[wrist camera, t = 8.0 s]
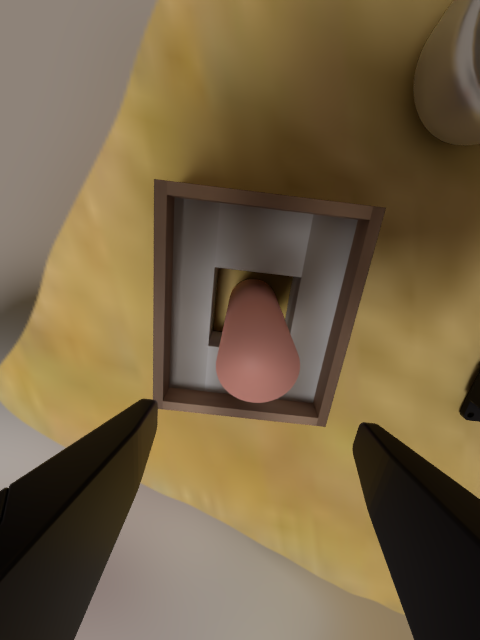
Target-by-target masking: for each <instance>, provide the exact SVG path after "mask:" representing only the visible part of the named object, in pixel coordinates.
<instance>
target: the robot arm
mask: <svg viewBox="0 0 480 640" xmlns="http://www.w3.org/2000/svg"><path fill="white" fill-rule="evenodd" d="M157 415H158V404H157V401H156V400H151V399H141V400H139V401H138V402H136V403H135V404H133V405H131V406H130V407H128V408H127V409H125V410H124V411H122V412H121V413H119V414H118V415H116V416H115V417H113V418H112V419H110V420H108V421H107V422H105V423H104V424H102V425H101V426H99V427H98V428H96V429H95V430H93V431H92V432H90V433H88V434H87V435H85V436H84V437H82V438H81V439H79V440H78V441H76V442H75V443H73V444H72V445H70V446H69V447H67V448H65V449H64V450H62V451H61V452H59V453H58V454H56V455H55V456H53V457H52V458H50V459H49V460H47V461H46V462H44V463H42V464H41V465H39V466H38V467H36V468H35V469H33V470H32V471H30V472H29V473H27V474H26V475H24V476H22V477H21V478H19V479H18V480H16V481H15V482H13V483H12V484H10V486H9V488H4V489H2V490H1V491H0V640H74V638H75V636H76V634H77V632H78V629H79V627H80V625H81V622H82V620H83V618H84V615H85V613H86V610H87V608H88V605H89V604H90V601H91V599H92V596H93V594H94V592H95V590H96V587H97V585H98V583H99V580H100V578H101V576H102V573H103V571H104V568H105V566H106V564H107V561H108V559H109V557H110V554H111V552H112V550H113V547H114V545H115V543H116V540H117V538H118V536H119V533H120V531H121V529H122V526H123V524H124V522H125V519H126V517H127V514H128V512H129V510H130V508H131V505H132V503H133V501H134V498H135V496H136V493H137V491H138V488H139V485H140V482H141V479H142V476H143V473H144V470H145V466H146V463H147V460H148V457H149V453H150V450H151V447H152V444H153V440H154V437H155V434H156V430H157ZM460 415H461V416H462V417H463V418H465V419H466V420H470V421H479V422H480V371H479V373H478V375H477V377H476V379H475V381H474V383H473V385H472V388H471V390H470V392H469V394H468V396H467V398H466V400H465V402H464V404H463V406H462V409H461V411H460ZM353 455H354V459H355V463H356V467H357V471H358V475H359V479H360V483H361V487H362V490H363V494H364V498H365V502H366V505H367V509H368V512H369V515H370V518H371V521H372V524H373V527H374V530H375V532H376V535H377V538H378V541H379V543H380V546H381V549H382V552H383V554H384V557H385V560H386V563H387V566H388V568H389V571H390V574H391V577H392V579H393V582H394V585H395V588H396V591H397V593H398V596H399V599H400V602H401V604H402V607H403V610H404V613H405V616H406V618H407V621H408V624H409V626H410V629H411V632H412V635H413V638H414V640H480V499H479V498H477V497H476V496H475V495H473V494H472V493H471V492H469V491H468V490H466V489H465V488H464V487H462V486H461V485H460V484H458V483H457V482H456V481H454V480H453V479H451V478H450V477H449V476H447V475H446V474H445V473H443V472H442V471H440V470H439V469H438V468H436V467H435V466H434V465H432V464H431V463H430V462H428V461H427V460H425V459H424V458H423V457H421V456H420V455H419V454H417V453H416V452H415V451H413V450H412V449H410V448H409V447H408V446H406V445H405V444H404V443H402V442H401V441H399V440H398V439H397V438H395V437H394V436H393V435H391V434H390V433H389V432H387V431H386V430H384V429H383V428H382V427H380V426H379V425H377V424H375V423H366V422H363V423H361V424H360V425H359V428H358V431H357V434H356V437H355V440H354V443H353Z"/></svg>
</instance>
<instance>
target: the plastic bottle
mask: <svg viewBox="0 0 480 640" xmlns="http://www.w3.org/2000/svg"><path fill="white" fill-rule="evenodd" d="M413 92H414V100H415V106H416V109H417V112H418V115H419V118H420V120H421V121H422V123H423V124H424V126H425V128H426V129H427V130H428V131H429V132H430V133H431V134H432V135H433V136H435V137H436V138H438V139H440V140H441V141H443V142H446V143H450V144H453V145H474V144H480V0H454V1H453V2H452V3H451V5H450V6H449V7H448V9H447V10H446V12H445V13H444V15H443V16H442V18H441V19H440V21H439V22H438V24H437V25H436V27H435V28H434V30H433V31H432V33H431V34H430V36H429V38H428V40H427V41H426V43H425V45H424V47H423V49H422V52H421V54H420V57H419V59H418V62H417V67H416V71H415V76H414V91H413Z"/></svg>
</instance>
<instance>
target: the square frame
mask: <svg viewBox="0 0 480 640" xmlns="http://www.w3.org/2000/svg"><path fill="white" fill-rule="evenodd" d="M385 209H386V208H384V207H375V206H367V205H359V204H351V203H343V202H335V201H327V200H319V199H311V198H303V197H295V196H286V195H278V194H270V193H262V192H254V191H246V190H238V189H230V188H222V187H214V186H206V185H197V184H189V183H181V182H173V181H165V180H157V179H154V318H153V400H156V401H157V404H158V409H166V410H175V411H184V412H194V413H203V414H212V415H221V416H231V417H240V418H249V419H258V420H268V421H277V422H286V423H295V424H305V425H314V426H323V427H326V423H327V419H328V416H329V412H330V409H331V405H332V401H333V398H334V394H335V390H336V387H337V383H338V380H339V376H340V372H341V369H342V365H343V361H344V358H345V354H346V351H347V347H348V343H349V340H350V336H351V332H352V329H353V325H354V322H355V318H356V314H357V311H358V307H359V304H360V300H361V296H362V293H363V289H364V285H365V282H366V278H367V275H368V271H369V267H370V264H371V260H372V256H373V253H374V249H375V246H376V242H377V238H378V235H379V231H380V227H381V224H382V220H383V217H384V213H385ZM218 268H226V269H234V270H243V271H251V272H260V273H268V274H277V275H285V276H293V279H292V285H291V290H290V296H289V301H288V307H287V312H286V318H285V321H286V324H287V327H288V329H289V332H290V334H291V337H292V339H293V342H294V345H295V347H296V350H297V352H298V355H299V359H300V372H299V375H298V378H297V380H296V382H295V384H294V385H293V387H292V388H291V389H290V390H289V391H288V392H287V393H286V394H284V395H283V396H281V397H279V398H277V399H275V400H272V401H269V402H263V403H252V402H247V401H243V400H240V399H238V398H236V397H234V396H233V395H231V394H230V393H229V392H228V391H226V390H225V388H224V387H223V386H222V384H221V383H220V381H219V379H218V376H217V373H216V360H217V355H218V350H219V346H220V341H221V336H222V332H217V331H213V323H214V311H215V300H216V288H217V277H218Z"/></svg>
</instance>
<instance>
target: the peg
mask: <svg viewBox="0 0 480 640" xmlns="http://www.w3.org/2000/svg"><path fill="white" fill-rule="evenodd" d="M299 372H300V359H299V355H298V352H297V350H296V347H295V345H294V342H293V339H292V337H291V334H290V332H289V329H288V327H287V324H286V321H285V319H284V316H283V314H282V311H281V309H280V306H279V304H278V301H277V298H276V296H275V293H274V291H273V289H272V288H271V287H270V286H269V285H268V284H267V283H266V282H264V281H262V280H258V279H248V280H244V281H242V282H240V283H239V284H238V285H236V286H235V288H234V289H233V290H232V293H231V295H230V299H229V304H228V309H227V313H226V318H225V322H224V327H223V332H222V336H221V341H220V346H219V350H218V355H217V360H216V373H217V376H218V379H219V381H220V383H221V384H222V386H223V387H224V388H225V390H226V391H228V392H229V393H230V394H231V395H233V396H234V397H236V398H238V399H240V400H243V401H247V402H252V403H263V402H269V401H272V400H275V399H277V398H279V397H281V396H283V395H284V394H286V393H287V392H288V391H289V390H290V389H291V388H292V387H293V385H294V384H295V382H296V380H297V378H298V375H299Z"/></svg>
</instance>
